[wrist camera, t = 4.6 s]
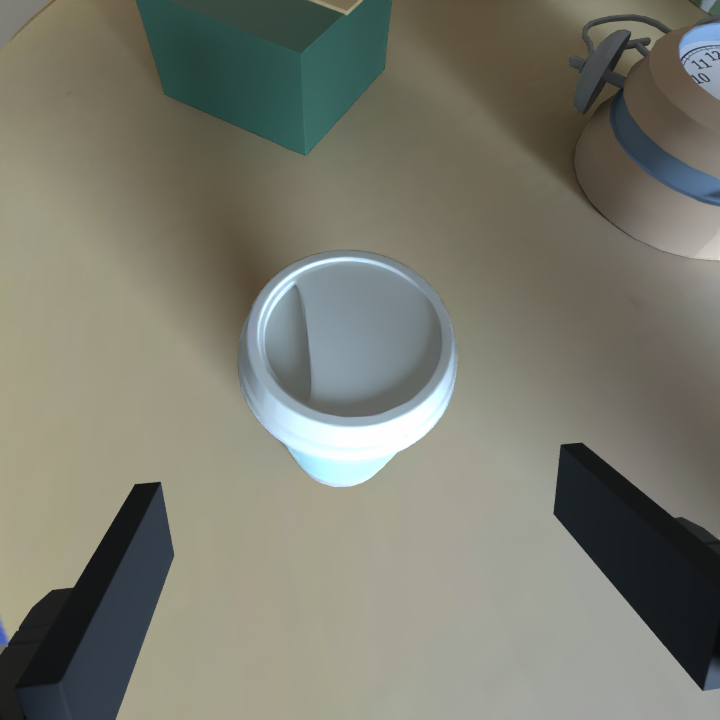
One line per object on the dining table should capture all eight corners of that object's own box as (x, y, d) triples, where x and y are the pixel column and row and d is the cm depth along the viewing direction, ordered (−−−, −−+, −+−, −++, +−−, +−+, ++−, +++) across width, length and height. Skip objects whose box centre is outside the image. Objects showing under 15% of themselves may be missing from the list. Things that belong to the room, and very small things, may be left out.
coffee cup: (308, 350, 30) (299, 209, 20) (434, 404, 29) (497, 286, 18) (238, 472, 26) (179, 380, 16) (380, 540, 25) (419, 490, 15)
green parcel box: (162, 93, 41) (127, -19, 33) (256, 19, 47) (243, -90, 39) (307, 157, 38) (303, 50, 31) (386, 70, 44) (398, -37, 37)
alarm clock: (758, 186, 26) (543, -26, 36) (655, 286, 34) (502, 92, 44) (962, 130, 30) (718, -48, 39) (825, 233, 38) (651, 64, 48)
